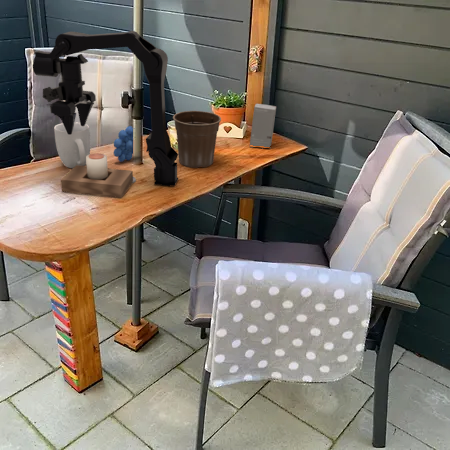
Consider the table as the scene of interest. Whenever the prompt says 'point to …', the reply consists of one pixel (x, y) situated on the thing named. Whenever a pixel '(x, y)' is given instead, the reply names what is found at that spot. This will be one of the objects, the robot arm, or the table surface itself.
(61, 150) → the mug
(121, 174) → the brown wooden block
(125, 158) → the grapes
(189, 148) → the plant pot
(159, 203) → the table surface
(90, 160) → the cream short cylinder
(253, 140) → the skincare box
